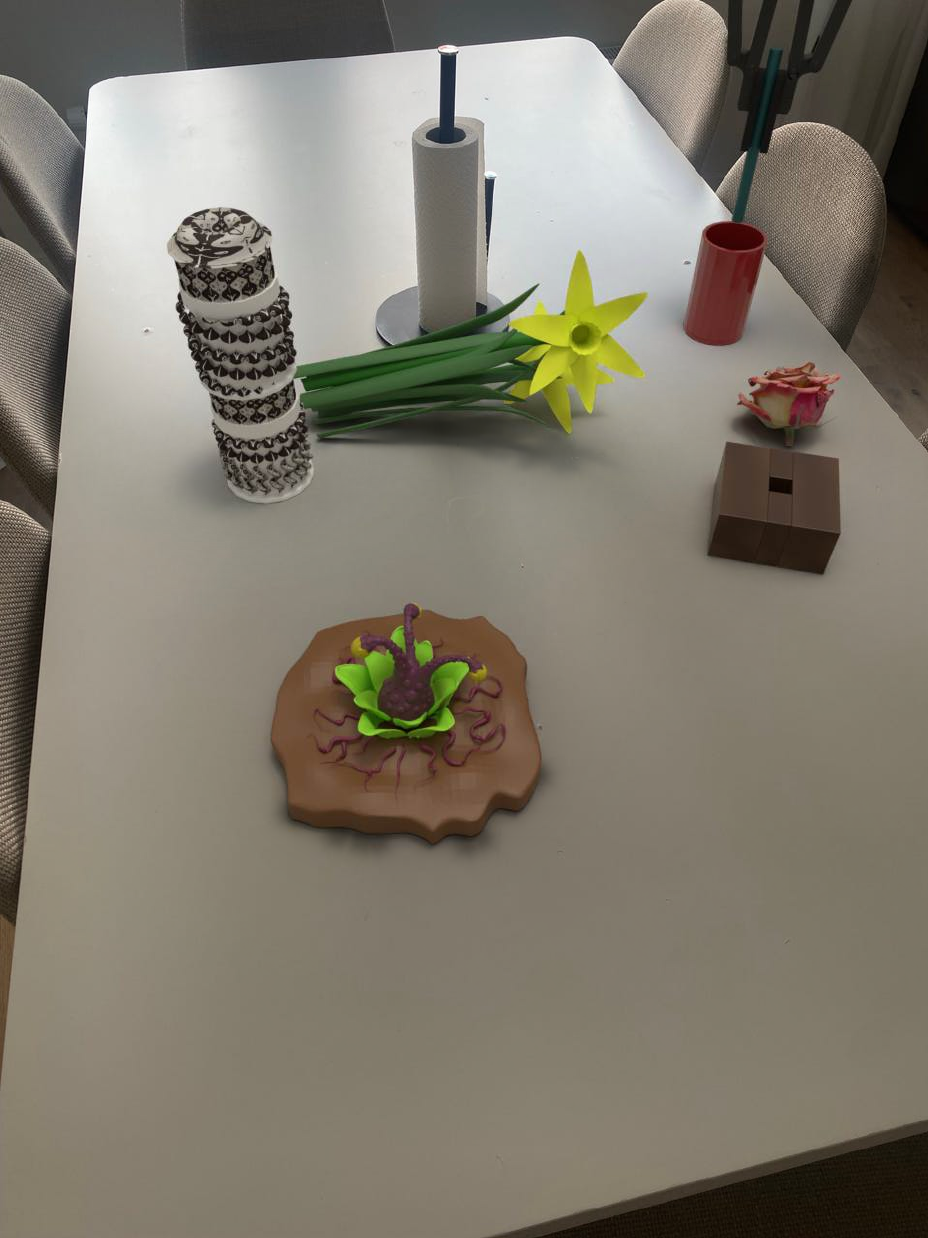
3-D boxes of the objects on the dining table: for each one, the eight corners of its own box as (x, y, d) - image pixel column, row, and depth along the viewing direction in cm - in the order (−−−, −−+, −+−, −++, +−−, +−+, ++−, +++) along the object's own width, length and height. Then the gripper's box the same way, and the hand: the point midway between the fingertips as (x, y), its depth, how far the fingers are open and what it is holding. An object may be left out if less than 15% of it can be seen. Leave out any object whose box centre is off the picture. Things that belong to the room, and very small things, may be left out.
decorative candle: (238, 518, 85) (170, 263, 65) (212, 459, 90) (142, 209, 71) (331, 489, 87) (292, 236, 68) (300, 434, 92) (255, 185, 73)
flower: (856, 444, 88) (861, 359, 86) (781, 449, 85) (785, 361, 83) (786, 442, 97) (789, 365, 95) (715, 447, 94) (717, 367, 92)
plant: (283, 633, 75) (260, 536, 67) (518, 619, 76) (524, 522, 68) (267, 857, 62) (235, 772, 54) (550, 838, 63) (562, 751, 55)
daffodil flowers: (335, 364, 102) (651, 299, 93) (342, 490, 99) (668, 436, 91) (262, 292, 86) (637, 205, 77) (269, 440, 83) (656, 368, 74)
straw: (743, 218, 95) (783, 46, 83) (742, 223, 95) (783, 50, 82) (731, 217, 96) (770, 45, 83) (730, 222, 95) (770, 49, 83)
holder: (822, 499, 86) (839, 457, 82) (823, 574, 80) (841, 533, 76) (715, 482, 87) (726, 441, 84) (707, 555, 81) (719, 513, 77)
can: (745, 316, 106) (768, 224, 98) (742, 348, 102) (766, 255, 94) (686, 309, 107) (704, 217, 99) (681, 340, 103) (699, 247, 95)
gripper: (917, -172, 73) (828, 138, 91) (737, -180, 75) (684, 124, 93) (925, -153, 68) (829, 170, 86) (731, -162, 70) (677, 155, 88)
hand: (754, 146), depth 89 cm, fingers closed on straw
